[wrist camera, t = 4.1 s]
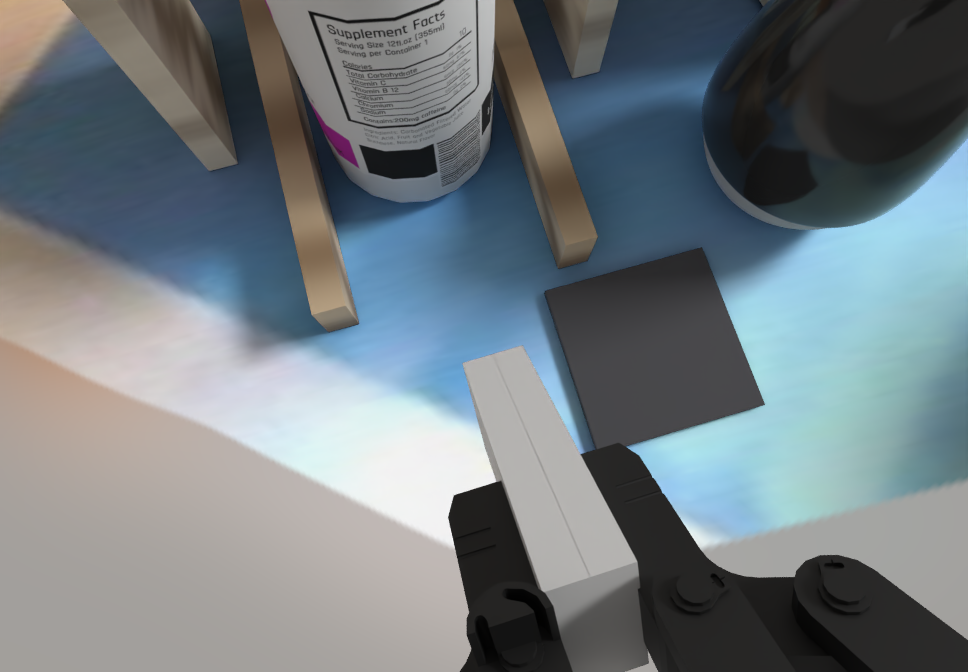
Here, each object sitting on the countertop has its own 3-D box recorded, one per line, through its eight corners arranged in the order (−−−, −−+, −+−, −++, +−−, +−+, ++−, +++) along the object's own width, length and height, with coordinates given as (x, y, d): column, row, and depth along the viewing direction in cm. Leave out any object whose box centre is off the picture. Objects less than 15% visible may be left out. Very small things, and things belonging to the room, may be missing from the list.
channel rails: (587, 261, 31) (598, 236, 28) (328, 332, 30) (311, 314, 27) (430, -188, 38) (425, -245, 35) (217, -141, 37) (194, -195, 34)
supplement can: (305, 170, 32) (154, -101, 17) (381, 46, 34) (304, -293, 19) (446, 235, 31) (413, 7, 17) (517, 103, 33) (544, -205, 18)
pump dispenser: (898, 111, 33) (1237, -202, 18) (853, 287, 30) (1200, 94, 16) (710, 51, 34) (886, -294, 19) (652, 217, 31) (801, -28, 17)
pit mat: (760, 405, 29) (764, 404, 29) (597, 454, 28) (598, 453, 28) (699, 250, 31) (701, 247, 30) (544, 293, 30) (545, 290, 30)
